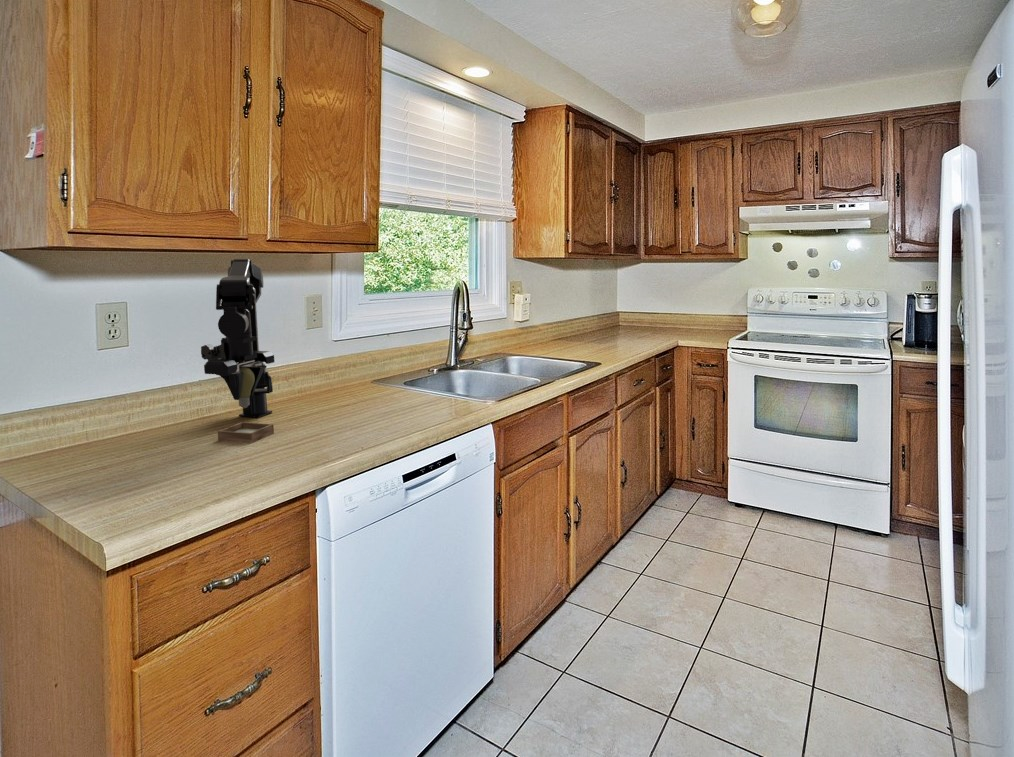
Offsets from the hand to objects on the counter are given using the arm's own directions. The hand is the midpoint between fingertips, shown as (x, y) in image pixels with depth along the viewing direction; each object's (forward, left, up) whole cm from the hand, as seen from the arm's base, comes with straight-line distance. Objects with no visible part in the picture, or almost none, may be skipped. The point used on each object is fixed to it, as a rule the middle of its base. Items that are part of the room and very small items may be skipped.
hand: (243, 397), depth 153 cm
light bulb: (0, 0, -3) cm, 3 cm away
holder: (0, 0, -10) cm, 10 cm away
